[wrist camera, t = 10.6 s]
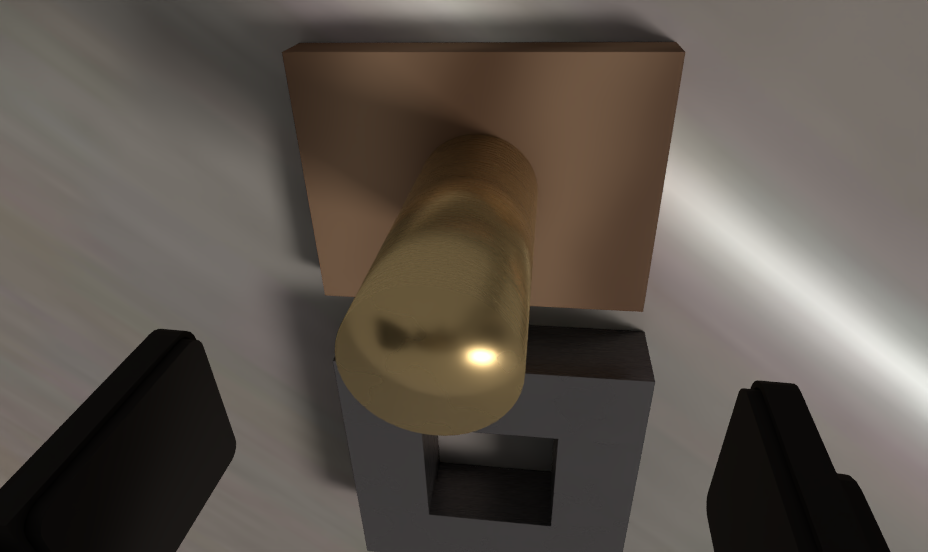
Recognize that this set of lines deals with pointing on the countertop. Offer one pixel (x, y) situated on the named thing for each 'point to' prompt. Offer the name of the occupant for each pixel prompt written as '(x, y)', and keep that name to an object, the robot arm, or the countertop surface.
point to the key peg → (448, 295)
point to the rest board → (504, 116)
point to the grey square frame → (513, 490)
